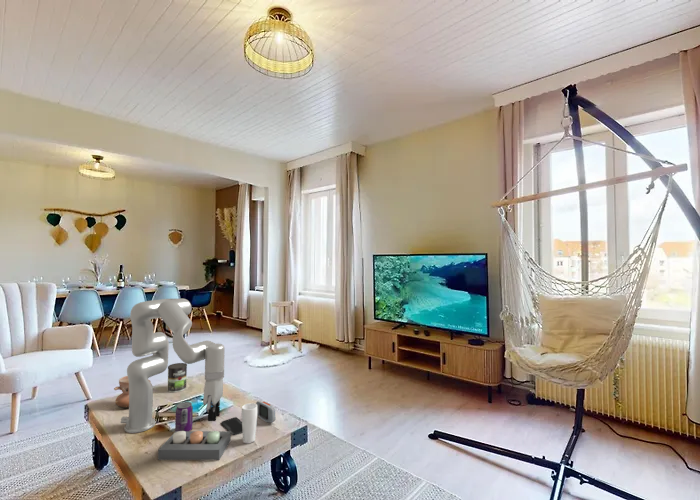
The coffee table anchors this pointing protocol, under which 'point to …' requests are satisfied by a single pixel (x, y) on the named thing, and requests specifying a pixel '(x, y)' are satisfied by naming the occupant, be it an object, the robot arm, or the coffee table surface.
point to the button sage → (213, 437)
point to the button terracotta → (196, 437)
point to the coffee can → (177, 377)
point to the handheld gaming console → (265, 411)
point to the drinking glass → (249, 422)
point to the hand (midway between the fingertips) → (213, 418)
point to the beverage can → (184, 417)
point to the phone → (233, 425)
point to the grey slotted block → (194, 448)
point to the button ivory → (179, 437)
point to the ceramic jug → (124, 397)
